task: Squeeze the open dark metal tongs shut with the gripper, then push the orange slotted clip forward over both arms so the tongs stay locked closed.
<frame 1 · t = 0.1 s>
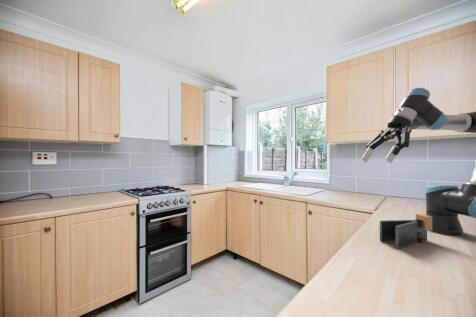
hand: (374, 160, 88), 35 cm above the table, fingers open, 13 cm apart
orange slotted clip: (423, 222, 93), point 8 cm above the table, slide at 0.0 cm
tongs hinged arm: (406, 234, 88), point 5 cm above the table, hinge at 22.0°
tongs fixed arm: (414, 240, 93), on the table
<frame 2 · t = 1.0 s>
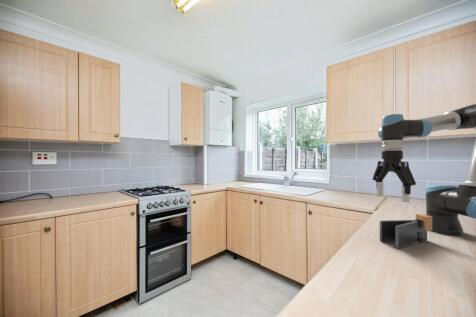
hand: (391, 198, 92), 19 cm above the table, fingers open, 13 cm apart
nothing on the table moved.
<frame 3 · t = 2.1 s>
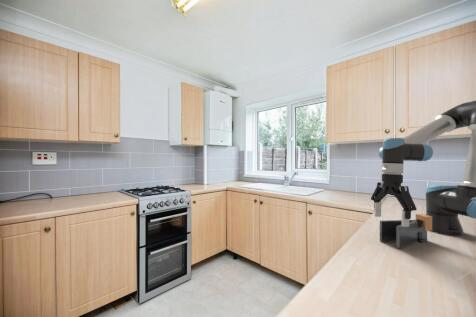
hand: (390, 222, 92), 9 cm above the table, fingers open, 14 cm apart
tongs hinged arm: (407, 234, 88), point 5 cm above the table, hinge at 23.2°, touching gripper
everything else where it was.
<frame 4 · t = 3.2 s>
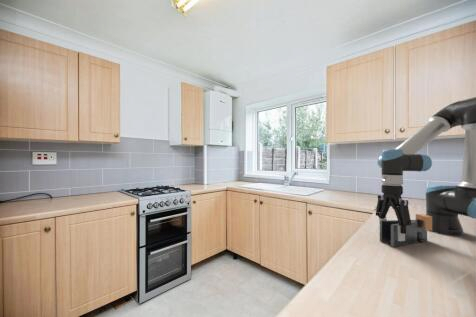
hand: (391, 236, 91), 3 cm above the table, fingers open, 9 cm apart
tongs hinged arm: (404, 233, 89), point 5 cm above the table, hinge at 15.3°, touching gripper
everything else where it was.
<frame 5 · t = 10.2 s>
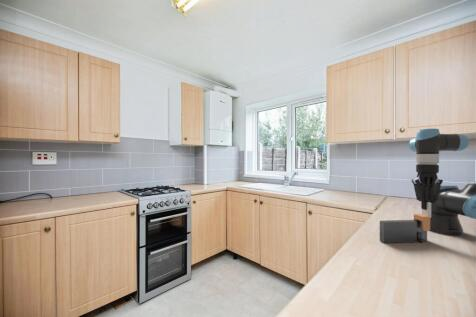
hand: (426, 216, 93), 11 cm above the table, fingers closed
orange slotted clip: (421, 222, 93), point 8 cm above the table, slide at 0.9 cm, touching gripper
tongs hinged arm: (399, 231, 91), point 5 cm above the table, hinge at -0.8°
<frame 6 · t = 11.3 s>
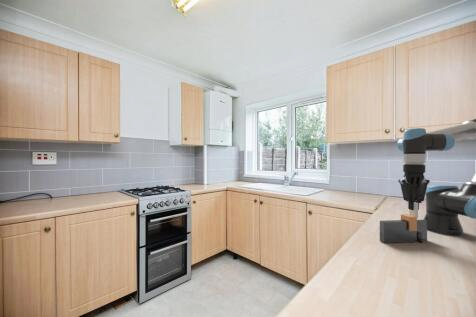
hand: (413, 217, 92), 11 cm above the table, fingers closed
orange slotted clip: (408, 222, 92), point 8 cm above the table, slide at 7.2 cm, touching gripper
everything else where it was.
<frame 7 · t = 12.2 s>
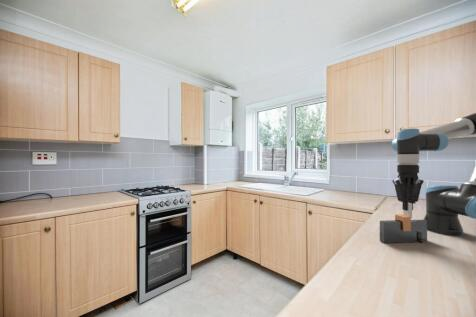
hand: (407, 217, 92), 10 cm above the table, fingers closed
orange slotted clip: (402, 222, 92), point 8 cm above the table, slide at 10.0 cm, touching gripper
everything else where it was.
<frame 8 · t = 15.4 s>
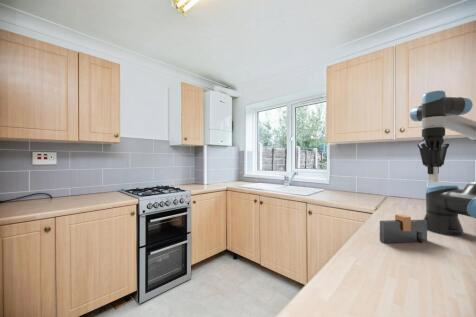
hand: (433, 181, 91), 26 cm above the table, fingers closed
orange slotted clip: (402, 222, 92), point 8 cm above the table, slide at 10.0 cm
everything else where it was.
at the end: tongs hinged arm at -1° (first picture: +22°); orange slotted clip slide at 10.0 cm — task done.
